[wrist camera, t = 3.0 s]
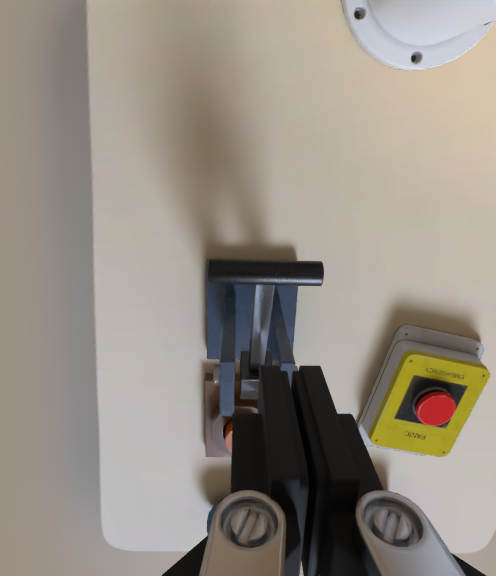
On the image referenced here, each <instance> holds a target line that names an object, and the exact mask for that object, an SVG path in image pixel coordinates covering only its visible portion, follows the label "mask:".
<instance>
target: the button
mask: <svg viewBox="0 0 496 576" xmlns="http://www.w3.org/2000/svg"><path fill="white" fill-rule="evenodd" d="M225 445H226V447H227V449H228V450H229V451H230V452H231V453H232V420H230V421H229V422H228V424H227V426H226V432H225Z"/></svg>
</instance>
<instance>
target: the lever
mask: <svg viewBox="0 0 496 576" xmlns="http://www.w3.org/2000/svg"><path fill="white" fill-rule="evenodd" d="M323 277H324V268H323V263H322V262H321V261H278V260H232V259H209V262H208V283H209V284H238V285H254V287H253V302H252V316H251V331H250V346H249V351H241V359H240V399H258V387H259V368H260V365H272V353H271V351H267V347H268V339H269V331H270V323H271V315H272V307H273V299H274V291H275V285H289V286H321V285H322V283H323Z"/></svg>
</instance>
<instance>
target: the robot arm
mask: <svg viewBox="0 0 496 576" xmlns="http://www.w3.org/2000/svg"><path fill="white" fill-rule="evenodd" d="M341 1H342V5H343V10H344V14H345V18H346V20H347V22H348V25H349V27H350V29H351V32H352V34H353V35H354V37H355V38H356V39H357V41H358V42H359V44H360V45H361V47H362V48H363V49H364V50H366V51H367V52H368V53H369V54H370V55H371V56H372V57H373V58H375V59H376V60H378V61H380V62H381V63H383V64H385V65H387V66H391V67H394V68H397V69H401V70H412V71H415V70H423V69H430V68H433V67H437V66H440V65H443V64H445V63H447V62H450V61H452V60H454V59H456V58H458V57H459V56H461V55H462V54H464V53H465V52H467V51H468V50H470V49H471V48H472V47H473V46H474V45H475V44H476V43H477V42H478V41H479V40H480V39H482V38H483V37H484V36H485V34H486V33H487V32H488V31H489V29H490V28H491V27H492V26H493V24H494V23H495V21H496V0H341ZM355 12H358V13H359V15H360V17H359V19H356V18H355V17H354V14H355ZM411 56H414V57H415V61H414V62H412V61H411ZM301 561H302V567H303V574H304V576H486V575H484V574H483V573H481V572H480V571H478V570H477V569H475V568H474V567H472V566H471V565H469V564H467V563H466V562H464V561H463V560H461V559H460V558H458V557H457V556H455V555H454V554H452V553H451V552H450V551H449V550H448V548H447V546H446V545H445V543H444V542H443V540H442V539H441V537H440V536H439V534H438V533H437V531H436V530H435V528H434V527H433V525H432V524H431V522H430V521H429V519H428V518H427V516H426V515H425V514H424V512H423V511H422V510H421V509H420V508H419V507H418V506H417V505H416V504H415V503H413V502H412V501H411V500H410V499H408V498H406V497H404V496H402V495H400V494H398V493H394V492H390V491H384V490H383V488H382V485H381V483H380V481H379V478H378V476H377V473H376V471H375V468H374V466H373V463H372V461H371V458H370V456H369V453H368V451H367V449H366V446H365V444H364V441H363V439H362V436H361V434H360V431H359V429H358V426H357V424H356V422H355V419H354V417H353V415H351V414H337V412H336V409H335V406H334V403H333V400H332V398H331V395H330V392H329V389H328V386H327V383H326V381H325V378H324V375H323V372H322V369H321V367H320V366H300V367H299V371H292V378H291V387H290V382H289V377H288V372H287V371H281V370H280V366H279V365H260V368H259V387H258V410H257V413H232V466H231V495H229V496H227V497H226V498H224V499H223V500H222V501H221V502H220V503H219V505H218V506H217V507H216V510H215V512H214V515H213V518H212V522H211V527H210V531H209V535H208V536H207V537H205V538H204V539H203V540H202V541H201V542H200V543H199V544H197V545H196V546H195V547H194V548H193V549H192V550H190V551H189V552H188V553H187V554H186V555H185V556H184V557H182V558H181V559H180V560H179V561H178V562H177V563H176V564H174V565H173V566H172V567H171V568H170V569H169V570H167V572H165V573H164V574H163V575H162V576H299V574H300V565H301Z"/></svg>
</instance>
